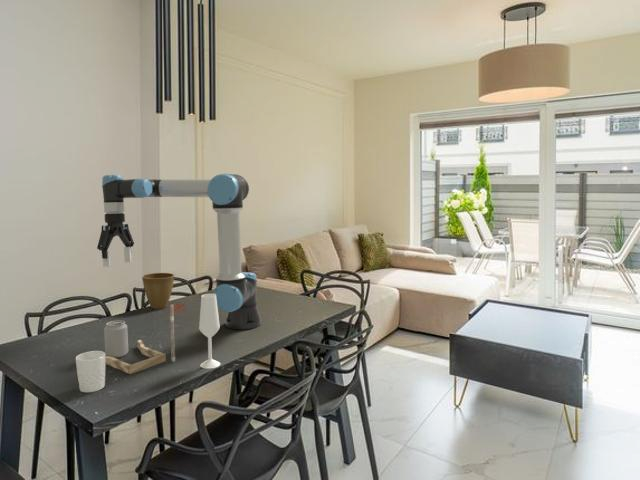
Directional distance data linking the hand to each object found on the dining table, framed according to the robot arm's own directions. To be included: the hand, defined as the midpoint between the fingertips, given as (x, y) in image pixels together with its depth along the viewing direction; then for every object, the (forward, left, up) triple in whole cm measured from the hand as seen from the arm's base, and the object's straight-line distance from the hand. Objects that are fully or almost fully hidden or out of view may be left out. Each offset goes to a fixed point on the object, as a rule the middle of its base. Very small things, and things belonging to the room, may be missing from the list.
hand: (117, 264), depth 186 cm
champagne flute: (-53, +29, -28) cm, 66 cm away
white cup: (-25, +52, -28) cm, 64 cm away
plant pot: (+1, -33, -28) cm, 43 cm away
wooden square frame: (-27, +30, -27) cm, 49 cm away
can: (-17, +27, -28) cm, 42 cm away
